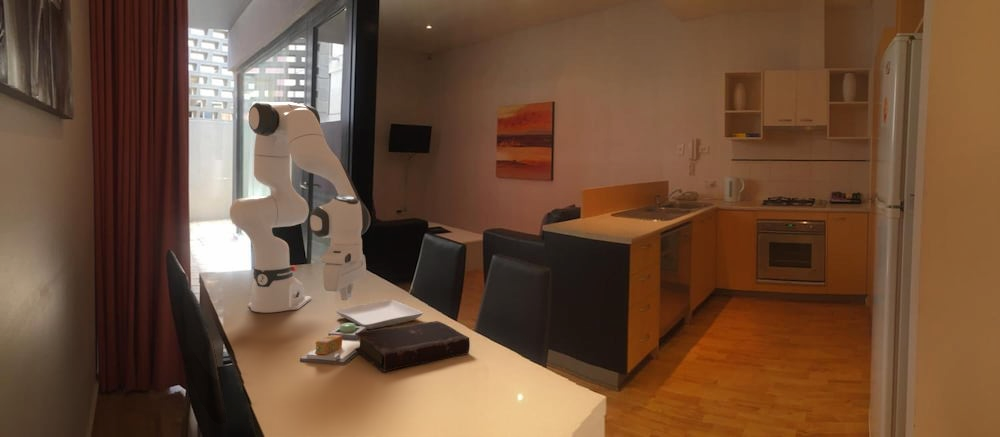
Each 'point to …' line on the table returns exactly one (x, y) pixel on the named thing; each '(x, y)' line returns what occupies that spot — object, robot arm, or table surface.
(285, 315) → the table surface
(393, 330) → the diary
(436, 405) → the table surface
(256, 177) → the robot arm
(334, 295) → the table surface
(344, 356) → the clipboard
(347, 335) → the button bezel
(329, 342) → the supplement box
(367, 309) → the salad plate
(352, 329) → the button
